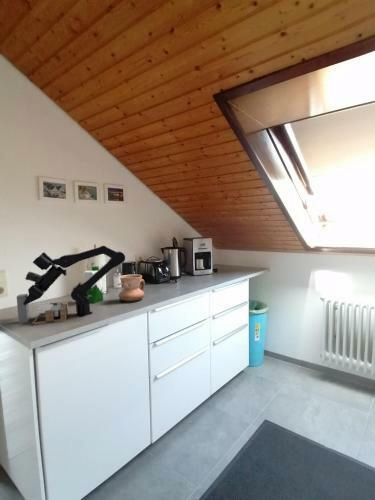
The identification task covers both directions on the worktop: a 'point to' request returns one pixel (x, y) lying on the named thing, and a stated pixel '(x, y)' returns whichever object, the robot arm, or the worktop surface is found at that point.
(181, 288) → the worktop surface
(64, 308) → the frame
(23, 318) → the basalt block
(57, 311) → the trapdoor
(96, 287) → the milk carton
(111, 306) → the worktop surface
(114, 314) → the worktop surface
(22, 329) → the worktop surface
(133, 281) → the ceramic jug
